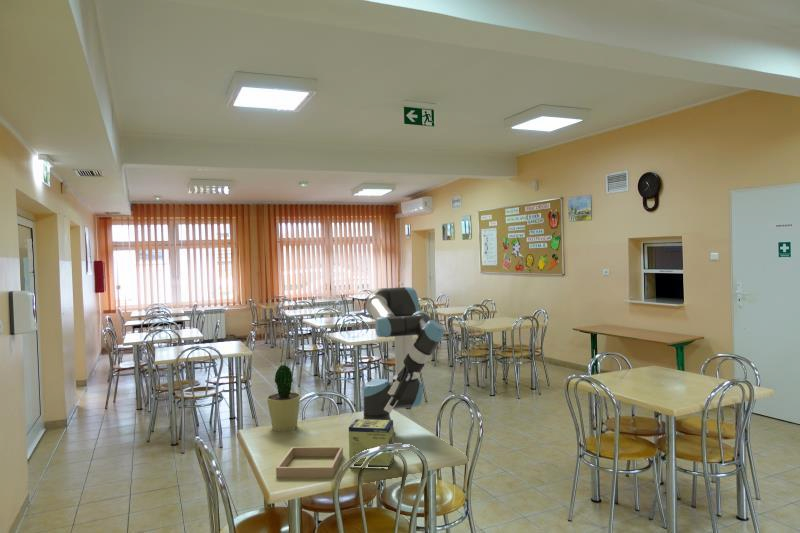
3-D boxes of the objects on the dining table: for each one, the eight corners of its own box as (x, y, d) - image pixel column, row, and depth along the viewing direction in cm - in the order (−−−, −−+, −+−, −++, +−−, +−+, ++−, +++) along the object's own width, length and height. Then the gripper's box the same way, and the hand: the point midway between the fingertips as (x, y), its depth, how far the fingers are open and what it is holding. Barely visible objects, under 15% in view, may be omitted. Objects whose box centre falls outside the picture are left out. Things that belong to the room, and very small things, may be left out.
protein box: (389, 470, 201) (388, 428, 201) (349, 468, 204) (347, 426, 204) (395, 459, 212) (393, 419, 211) (356, 458, 214) (354, 418, 214)
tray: (343, 455, 217) (342, 446, 217) (332, 477, 196) (332, 467, 196) (292, 455, 219) (291, 447, 219) (276, 477, 197) (276, 467, 197)
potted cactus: (265, 425, 261) (263, 362, 260) (297, 420, 267) (295, 359, 267) (271, 434, 247) (269, 368, 246) (304, 429, 253) (302, 364, 252)
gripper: (424, 377, 192) (394, 423, 197) (426, 350, 217) (400, 392, 222) (405, 367, 192) (376, 413, 197) (410, 341, 216) (384, 383, 221)
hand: (388, 402), depth 209 cm, fingers open, 13 cm apart
